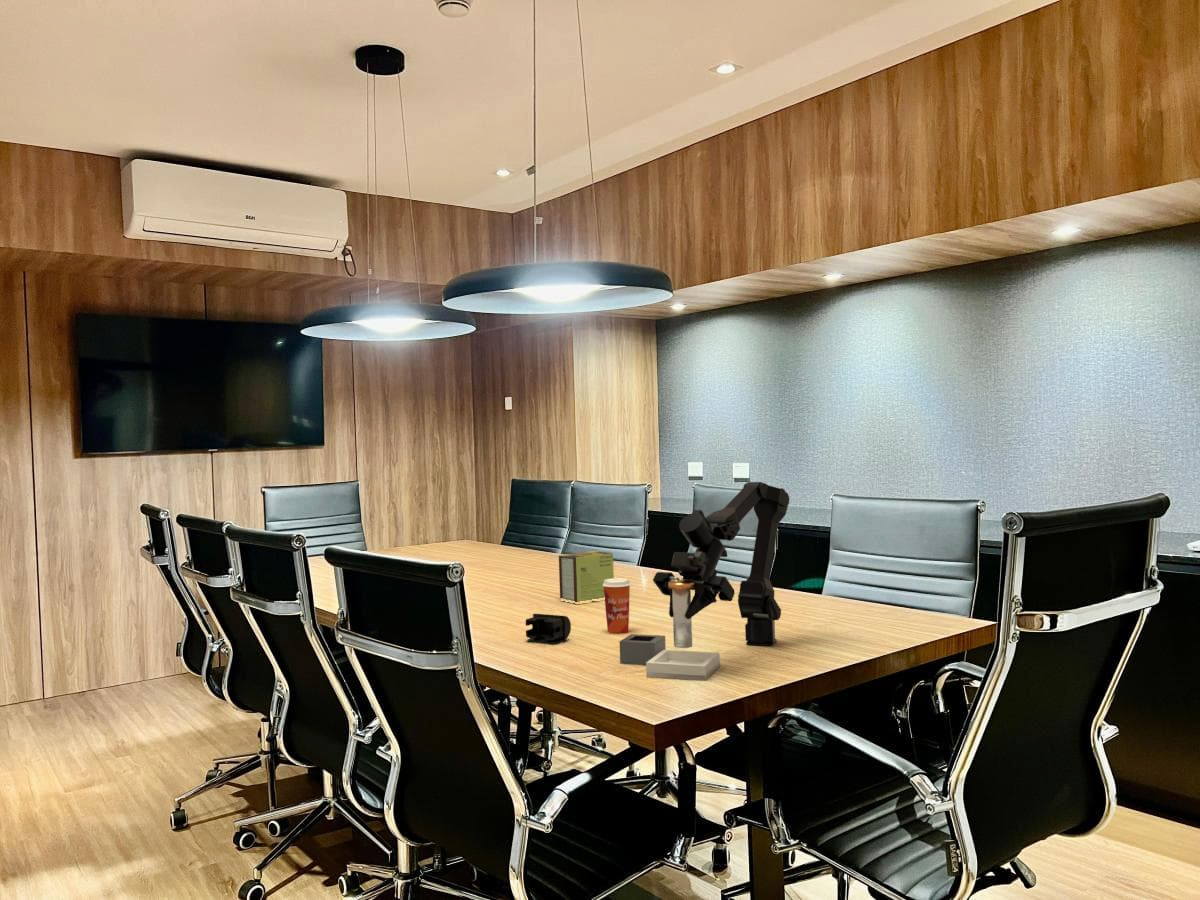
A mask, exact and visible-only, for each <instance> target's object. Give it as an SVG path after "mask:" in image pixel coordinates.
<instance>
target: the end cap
mask: <svg viewBox="0 0 1200 900" xmlns="http://www.w3.org/2000/svg"><path fill="white" fill-rule="evenodd" d="M530 625H531V626H532V627H531V628H530V629H526V630H525V636H526V638H528V639H526V642H527V643H532V644H543V645H554V646H556V645H560V644H562V643H564V642H565V641H566V640H567V639H568V637H569V636H570V634H571V630H572V623H571V620H570V618H569V617H568V616H566V615H558V614H546V613H545V614H543V613H532V617H529V618H526V619H525V626H526V627H527V626H530Z"/></svg>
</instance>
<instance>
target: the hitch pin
mask: <svg viewBox="0 0 1200 900" xmlns="http://www.w3.org/2000/svg"><path fill="white" fill-rule="evenodd" d="M668 587H669V588H671V589H672V600H673V617H672V624H673V626H672V627H673V647H674V648H677V649H690V648H692V647H693V628H692V627H693V625H692V623H693V622H692V617H691V618H690V619H687V618H686V613H687V610H688V608H689V606H690V603H691V601H692V598H691V597H692V596H691V595H692V594H691V593H692V592H691V591H692V590H691V589H690V588H693V587H694V582H693V581H689V580H676V581H670V582H668Z"/></svg>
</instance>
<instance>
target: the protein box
mask: <svg viewBox="0 0 1200 900" xmlns="http://www.w3.org/2000/svg"><path fill="white" fill-rule="evenodd" d="M558 570H559V572H558V575H559V576H558V577H559V580H558V581H559V599H560V598H563V599H566V600H571V601H575V602H580V601H586V600H592V599H599V598H604V597H605V595H604V586H603V584H604V580H606V579H614V576H615V575H614V574H615V573H614V553H613V552H607V551H606V552H605V551H598V550H591V551H584V552H582V551H581V552H574V553H566V554H559V555H558Z"/></svg>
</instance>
